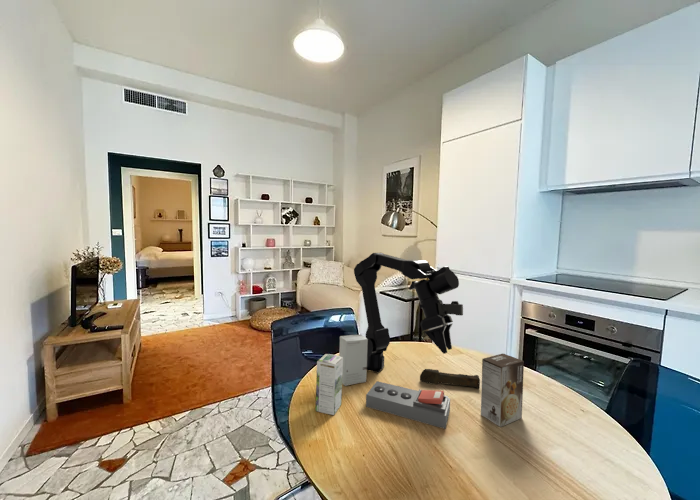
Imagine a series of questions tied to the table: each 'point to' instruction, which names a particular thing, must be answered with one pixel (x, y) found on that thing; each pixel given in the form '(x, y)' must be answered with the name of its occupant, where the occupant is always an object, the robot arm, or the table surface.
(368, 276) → the robot arm
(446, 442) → the table surface
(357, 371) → the skincare box
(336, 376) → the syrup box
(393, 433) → the table surface
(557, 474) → the table surface
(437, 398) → the red flat block
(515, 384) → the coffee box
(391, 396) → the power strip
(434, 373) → the hand tool
